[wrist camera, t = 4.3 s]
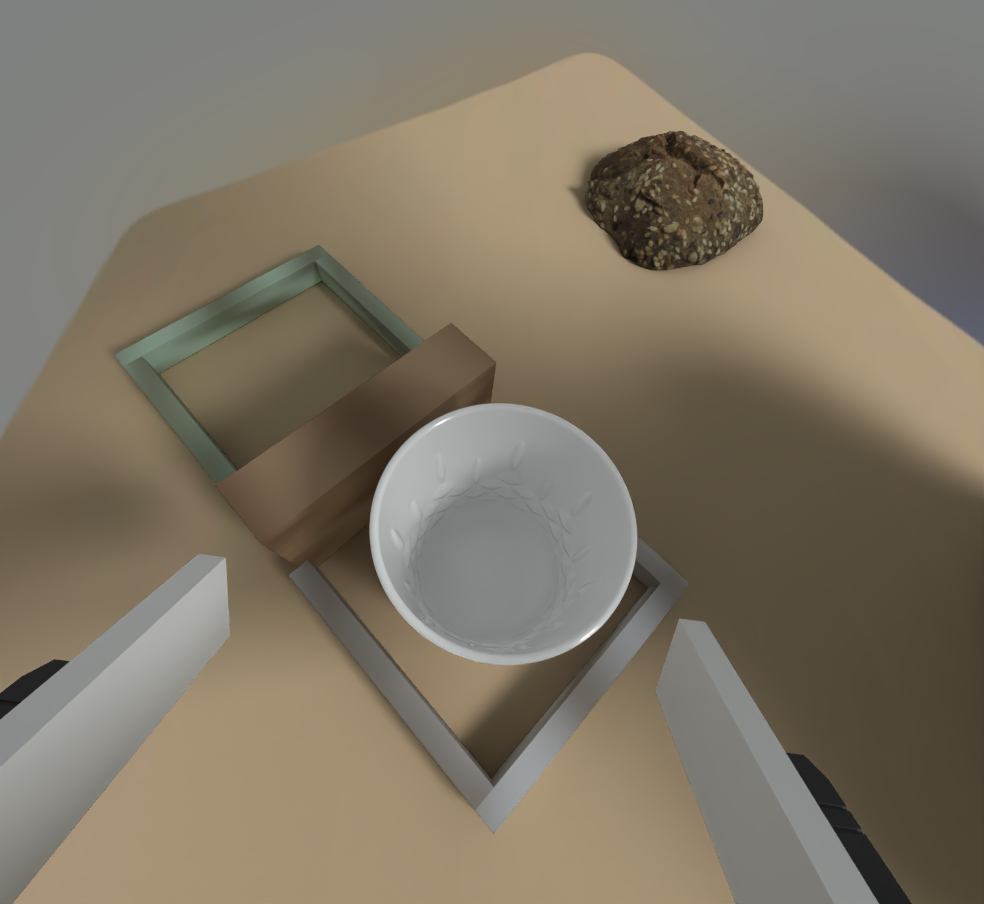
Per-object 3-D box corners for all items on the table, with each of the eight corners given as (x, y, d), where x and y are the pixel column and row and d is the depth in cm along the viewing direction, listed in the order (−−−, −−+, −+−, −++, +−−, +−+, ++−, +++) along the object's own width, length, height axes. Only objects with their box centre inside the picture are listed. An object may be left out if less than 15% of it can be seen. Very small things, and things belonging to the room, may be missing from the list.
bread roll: (773, 239, 35) (820, 177, 31) (652, 293, 32) (684, 231, 27) (668, 145, 40) (695, 79, 35) (551, 184, 36) (565, 115, 32)
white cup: (411, 499, 24) (385, 396, 15) (560, 504, 24) (622, 408, 15) (396, 665, 20) (350, 663, 11) (569, 667, 21) (655, 666, 12)
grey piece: (325, 264, 30) (297, 177, 25) (675, 589, 23) (744, 564, 17) (132, 372, 26) (47, 293, 20) (490, 820, 18) (505, 885, 13)
